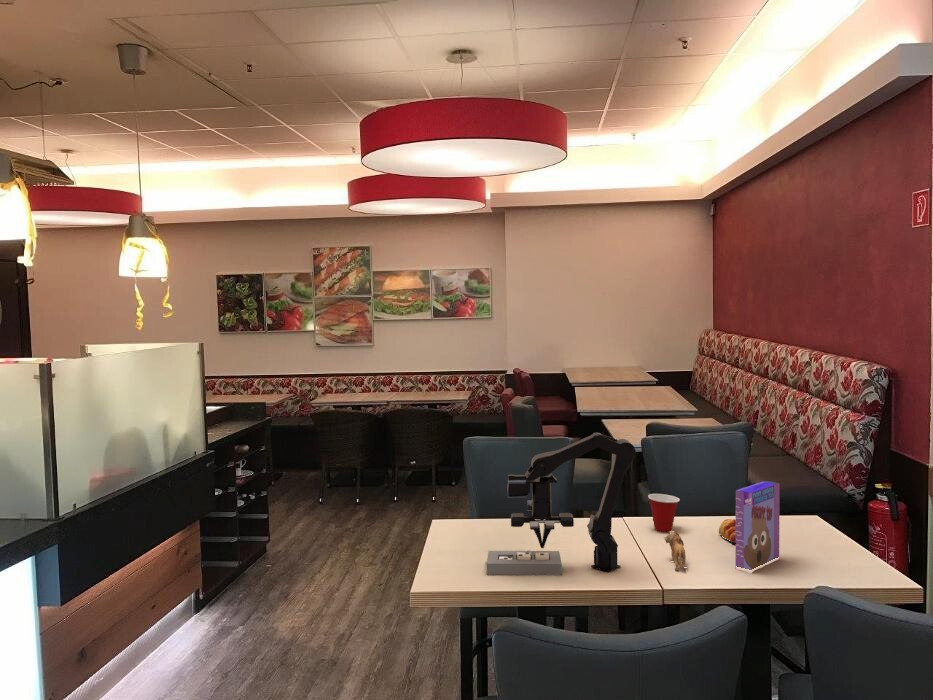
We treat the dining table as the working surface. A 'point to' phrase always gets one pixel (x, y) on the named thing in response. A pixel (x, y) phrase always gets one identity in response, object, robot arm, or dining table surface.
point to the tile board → (523, 564)
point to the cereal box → (757, 524)
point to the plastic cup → (663, 511)
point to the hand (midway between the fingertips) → (542, 547)
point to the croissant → (728, 529)
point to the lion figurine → (676, 549)
